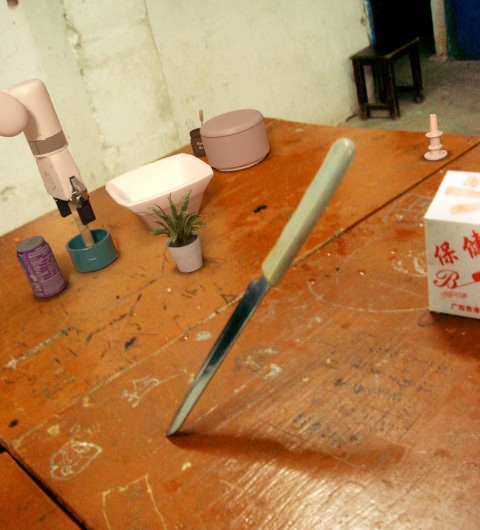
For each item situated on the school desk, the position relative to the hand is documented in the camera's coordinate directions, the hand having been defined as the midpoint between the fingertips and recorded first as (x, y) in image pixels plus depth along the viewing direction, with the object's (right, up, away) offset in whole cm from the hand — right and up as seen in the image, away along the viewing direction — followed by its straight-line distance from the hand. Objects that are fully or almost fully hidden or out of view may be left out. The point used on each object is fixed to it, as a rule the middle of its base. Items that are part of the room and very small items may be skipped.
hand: (78, 218), depth 140 cm
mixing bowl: (+3, -9, +6) cm, 11 cm away
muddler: (+3, -9, +6) cm, 11 cm away
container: (+35, +23, +40) cm, 58 cm away
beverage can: (-6, -16, -1) cm, 17 cm away
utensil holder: (+24, +28, +54) cm, 65 cm away
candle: (+81, +16, +10) cm, 84 cm away
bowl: (+18, +3, +18) cm, 26 cm away
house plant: (+24, -12, -7) cm, 28 cm away
